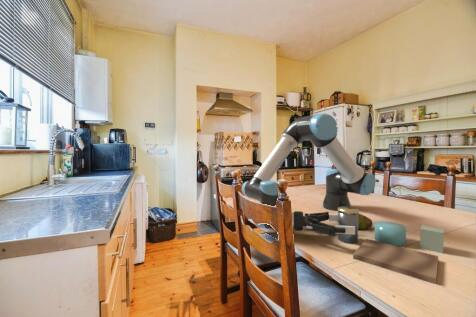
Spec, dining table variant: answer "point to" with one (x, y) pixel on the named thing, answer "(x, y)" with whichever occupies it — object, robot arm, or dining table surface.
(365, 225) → the potato
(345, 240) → the tea tin
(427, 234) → the sage box
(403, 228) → the teal domed cylinder
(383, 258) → the walnut board
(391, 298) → the dining table surface
